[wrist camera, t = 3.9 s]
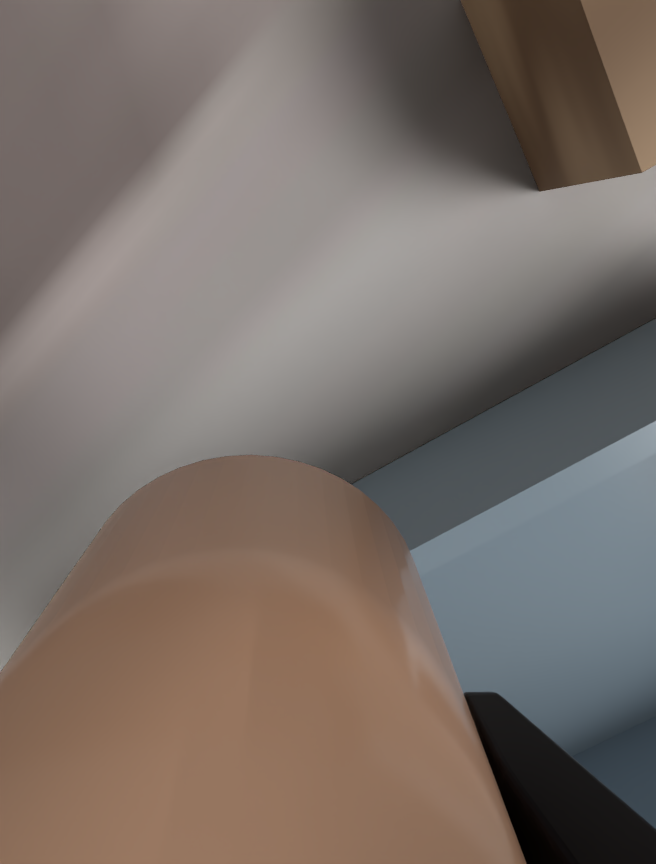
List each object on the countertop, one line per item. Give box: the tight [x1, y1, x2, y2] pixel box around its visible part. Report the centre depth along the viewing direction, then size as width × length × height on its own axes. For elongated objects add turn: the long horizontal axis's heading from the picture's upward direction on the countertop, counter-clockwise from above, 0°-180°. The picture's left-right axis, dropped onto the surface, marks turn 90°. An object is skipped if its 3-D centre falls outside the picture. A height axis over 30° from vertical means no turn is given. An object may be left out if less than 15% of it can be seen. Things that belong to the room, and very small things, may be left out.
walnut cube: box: [461, 0, 656, 191], centre depth 13 cm, size 5×5×5 cm
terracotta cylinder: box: [0, 455, 527, 864], centre depth 6 cm, size 5×5×7 cm
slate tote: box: [351, 318, 656, 829], centre depth 18 cm, size 13×19×5 cm
